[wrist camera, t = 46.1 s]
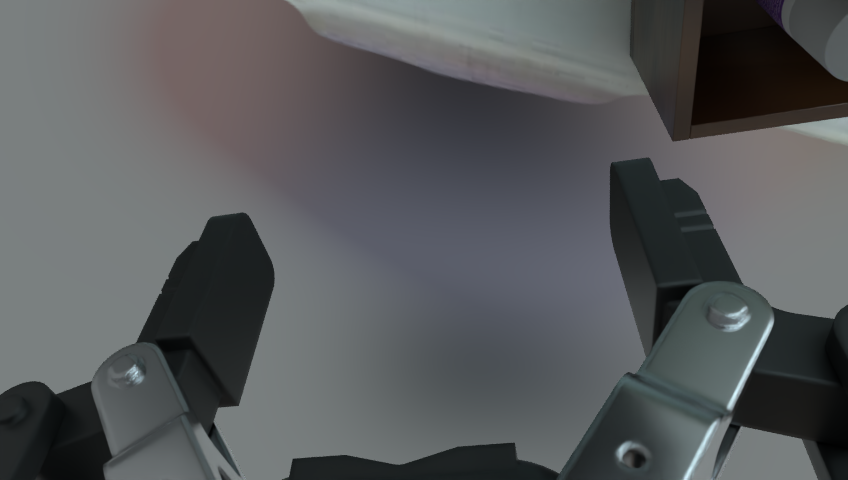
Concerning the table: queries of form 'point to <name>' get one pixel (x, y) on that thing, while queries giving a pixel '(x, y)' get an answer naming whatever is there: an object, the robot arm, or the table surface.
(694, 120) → the chest
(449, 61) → the table surface
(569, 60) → the table surface
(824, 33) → the container
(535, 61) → the table surface
